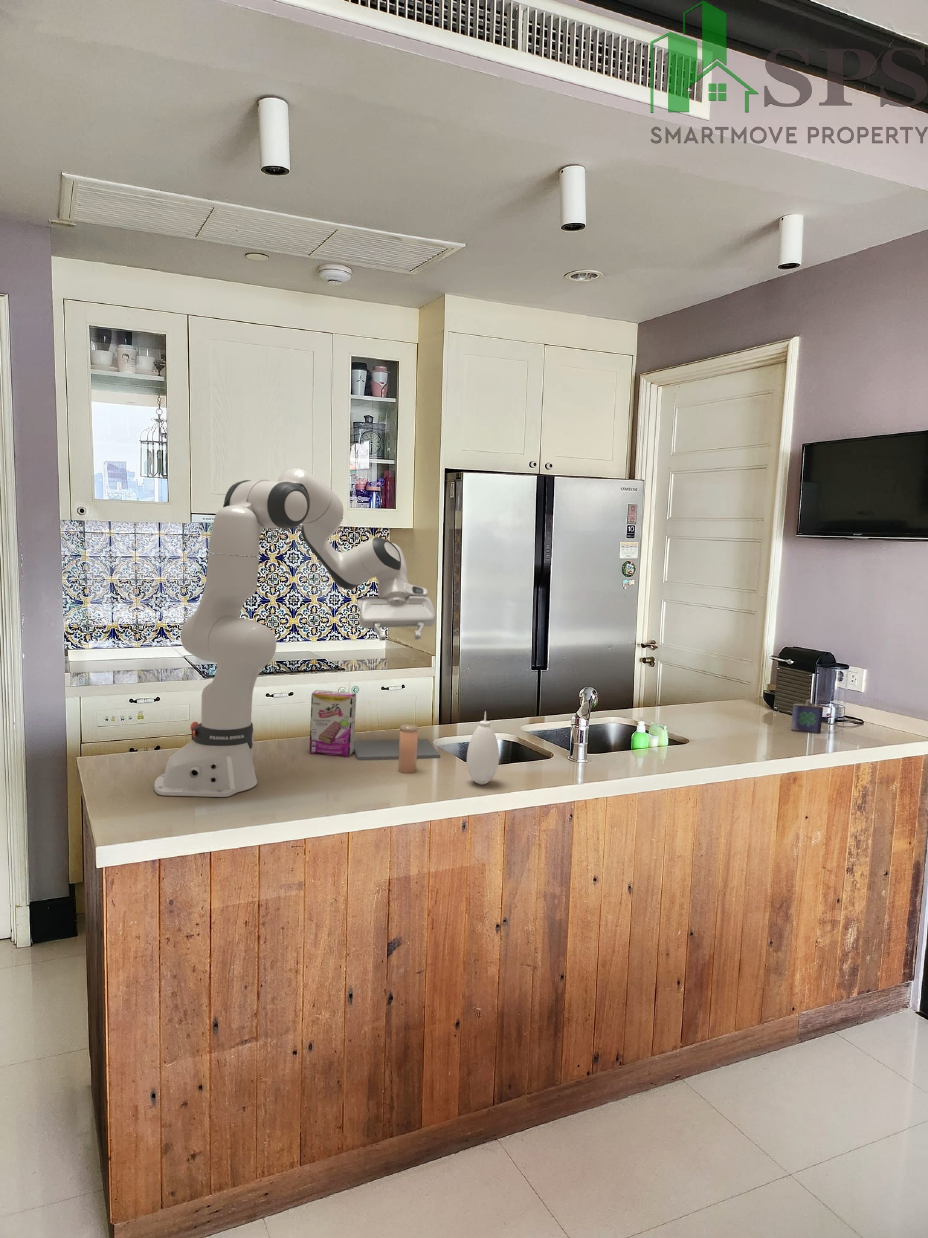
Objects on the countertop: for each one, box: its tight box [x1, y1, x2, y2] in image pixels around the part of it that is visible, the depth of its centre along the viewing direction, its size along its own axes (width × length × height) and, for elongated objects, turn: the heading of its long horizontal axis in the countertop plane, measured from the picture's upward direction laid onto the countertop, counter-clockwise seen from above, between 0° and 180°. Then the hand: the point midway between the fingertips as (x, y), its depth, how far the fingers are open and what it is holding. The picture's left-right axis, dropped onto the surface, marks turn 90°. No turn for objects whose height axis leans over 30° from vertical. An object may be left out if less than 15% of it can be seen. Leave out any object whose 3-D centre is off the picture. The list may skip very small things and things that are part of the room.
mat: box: [353, 738, 441, 761], centre depth 227 cm, size 22×16×1 cm
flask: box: [790, 699, 824, 735], centre depth 273 cm, size 9×3×11 cm, turn 76°
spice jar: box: [397, 723, 419, 774], centre depth 209 cm, size 4×4×11 cm
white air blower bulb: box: [466, 710, 500, 785], centre depth 202 cm, size 8×8×18 cm
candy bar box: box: [308, 689, 357, 757], centre depth 221 cm, size 11×5×16 cm, turn 84°
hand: (400, 638), depth 219 cm, fingers open, 8 cm apart
